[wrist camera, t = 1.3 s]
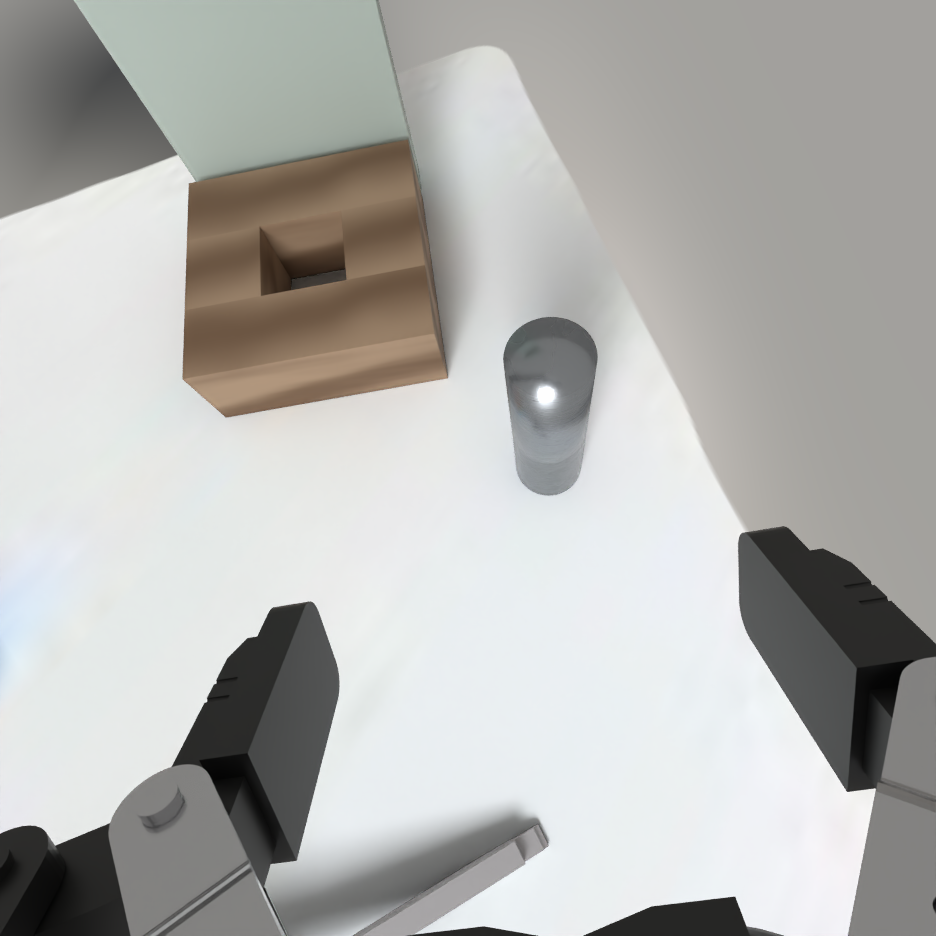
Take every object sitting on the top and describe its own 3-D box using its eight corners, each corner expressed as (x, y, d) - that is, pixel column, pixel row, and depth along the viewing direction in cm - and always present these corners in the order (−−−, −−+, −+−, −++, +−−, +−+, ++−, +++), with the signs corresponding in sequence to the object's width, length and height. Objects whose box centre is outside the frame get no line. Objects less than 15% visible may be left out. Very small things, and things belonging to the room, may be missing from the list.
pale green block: (436, 296, 40) (283, -271, 17) (226, 335, 41) (-202, -153, 17) (418, 167, 44) (273, -440, 21) (226, 204, 45) (-123, -337, 21)
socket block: (447, 378, 38) (434, 333, 33) (226, 417, 39) (182, 379, 34) (422, 200, 43) (407, 139, 38) (226, 238, 44) (188, 183, 39)
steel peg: (548, 508, 35) (550, 417, 23) (503, 465, 36) (484, 358, 24) (594, 464, 35) (617, 355, 24) (548, 423, 36) (549, 301, 25)
